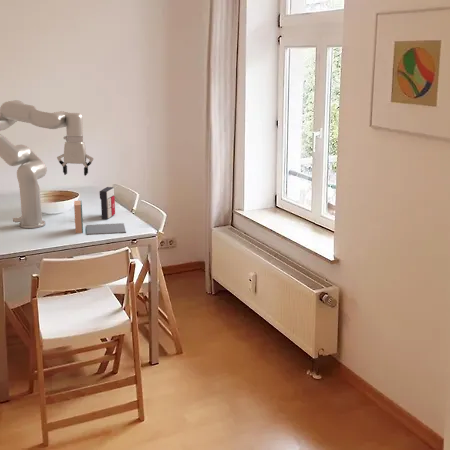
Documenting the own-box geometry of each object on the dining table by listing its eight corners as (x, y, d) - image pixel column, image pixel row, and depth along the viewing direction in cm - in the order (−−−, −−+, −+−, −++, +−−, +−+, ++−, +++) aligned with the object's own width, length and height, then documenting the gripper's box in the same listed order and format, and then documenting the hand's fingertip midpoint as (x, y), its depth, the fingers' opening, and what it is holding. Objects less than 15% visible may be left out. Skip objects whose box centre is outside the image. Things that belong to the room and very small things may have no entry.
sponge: (75, 233, 312) (74, 205, 308) (75, 228, 320) (74, 200, 317) (83, 233, 313) (81, 204, 309) (83, 228, 321) (81, 200, 317)
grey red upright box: (108, 219, 337) (107, 191, 333) (100, 219, 338) (99, 191, 334) (116, 214, 347) (115, 187, 343) (108, 214, 348) (107, 186, 344)
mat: (86, 234, 310) (86, 233, 310) (86, 225, 325) (86, 224, 325) (125, 232, 314) (125, 231, 314) (123, 224, 329) (123, 223, 329)
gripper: (54, 139, 305) (55, 175, 309) (91, 141, 305) (91, 177, 309) (58, 137, 312) (59, 172, 317) (94, 138, 312) (95, 173, 316)
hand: (75, 174), depth 313 cm, fingers open, 9 cm apart
